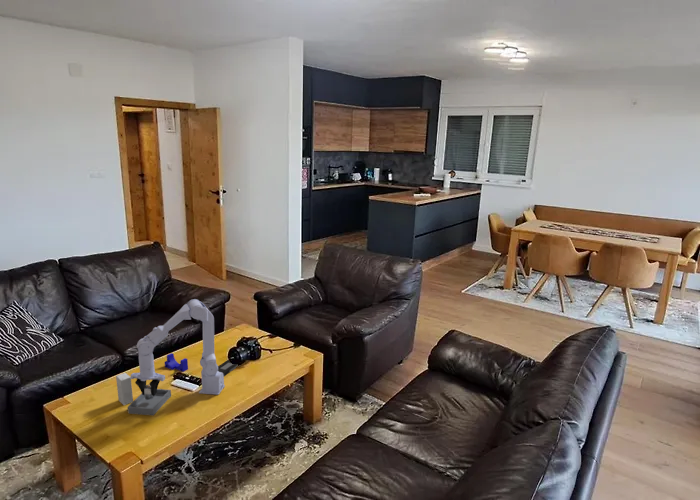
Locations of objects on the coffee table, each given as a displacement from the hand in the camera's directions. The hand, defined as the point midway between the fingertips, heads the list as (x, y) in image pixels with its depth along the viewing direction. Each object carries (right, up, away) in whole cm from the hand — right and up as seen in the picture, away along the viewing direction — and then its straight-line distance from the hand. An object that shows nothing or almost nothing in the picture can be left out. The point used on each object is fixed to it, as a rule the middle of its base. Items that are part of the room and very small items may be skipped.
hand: (149, 394), depth 194 cm
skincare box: (-12, -4, +3) cm, 13 cm away
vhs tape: (+25, +2, +34) cm, 42 cm away
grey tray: (0, -5, +1) cm, 5 cm away
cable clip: (-1, +2, +33) cm, 33 cm away
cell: (0, -1, 0) cm, 1 cm away
